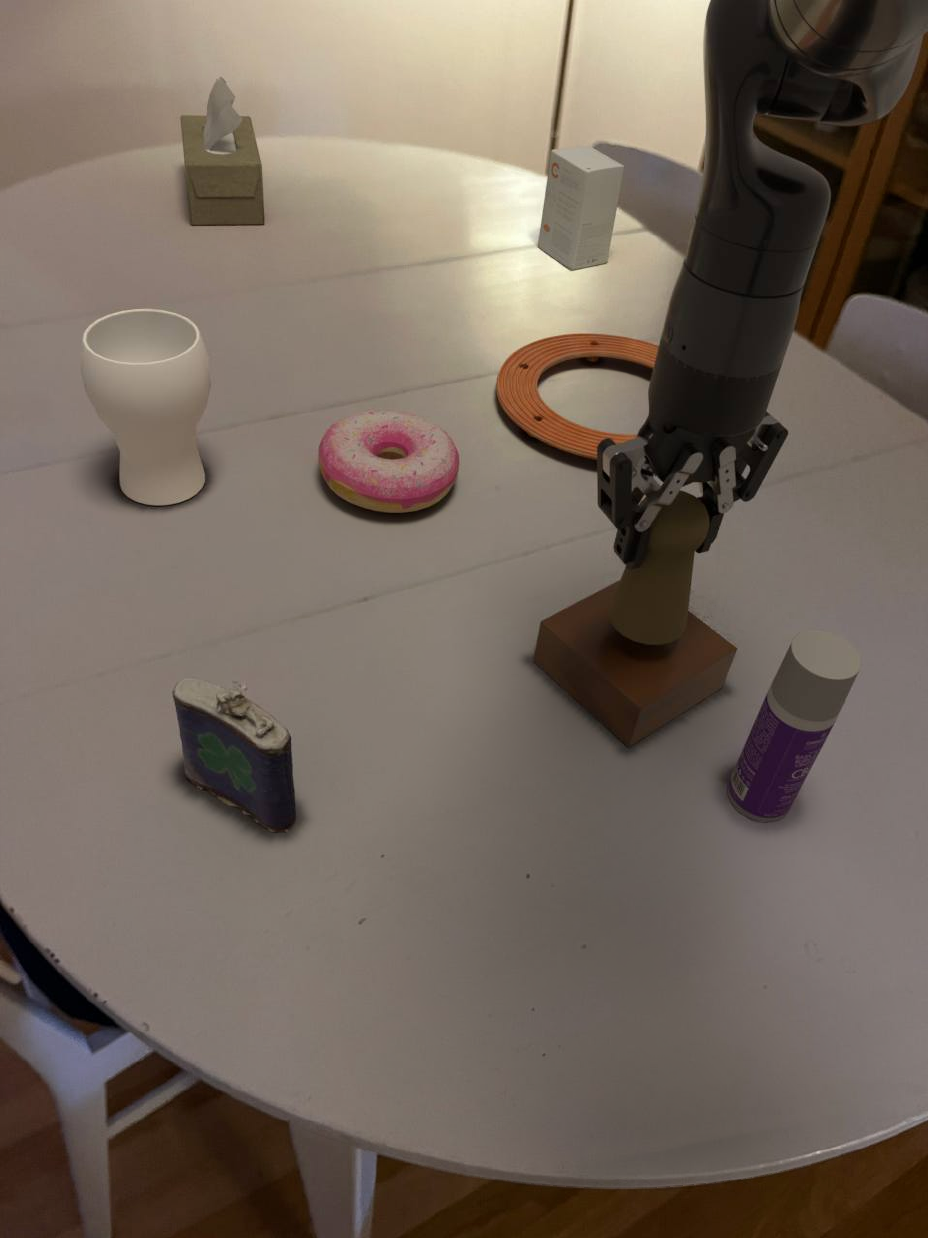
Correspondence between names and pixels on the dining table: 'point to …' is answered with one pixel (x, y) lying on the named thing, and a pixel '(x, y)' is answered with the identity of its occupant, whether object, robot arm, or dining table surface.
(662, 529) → the olive pawn
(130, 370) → the cup
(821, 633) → the container
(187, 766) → the flask
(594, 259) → the small box
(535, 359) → the ring
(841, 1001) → the dining table surface
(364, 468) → the donut
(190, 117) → the tissue box
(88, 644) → the dining table surface
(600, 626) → the walnut block
